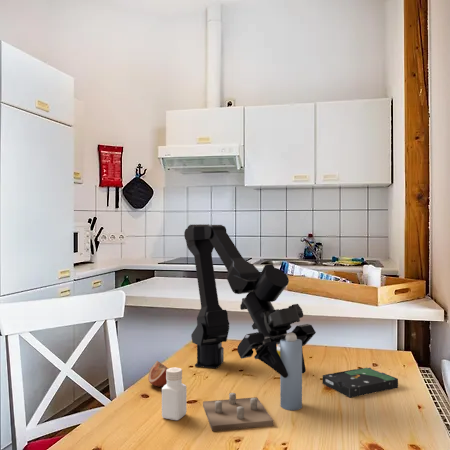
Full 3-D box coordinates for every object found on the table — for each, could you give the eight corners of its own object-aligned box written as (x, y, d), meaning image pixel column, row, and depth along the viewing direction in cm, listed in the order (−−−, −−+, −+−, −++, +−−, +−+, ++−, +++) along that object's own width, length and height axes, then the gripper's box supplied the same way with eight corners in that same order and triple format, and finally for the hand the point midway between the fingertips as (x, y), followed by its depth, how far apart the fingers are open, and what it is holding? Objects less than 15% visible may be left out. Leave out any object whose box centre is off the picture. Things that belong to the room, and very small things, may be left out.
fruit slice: (145, 381, 114) (145, 361, 114) (171, 377, 116) (171, 358, 116) (152, 392, 106) (152, 371, 106) (180, 388, 108) (180, 367, 108)
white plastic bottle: (187, 414, 94) (187, 368, 94) (177, 422, 90) (177, 374, 90) (170, 411, 96) (170, 365, 96) (160, 418, 92) (160, 371, 92)
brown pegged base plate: (202, 406, 98) (202, 392, 98) (257, 401, 100) (257, 388, 100) (212, 431, 86) (212, 415, 86) (273, 425, 89) (273, 410, 89)
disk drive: (350, 401, 102) (399, 389, 109) (350, 388, 102) (399, 377, 109) (321, 386, 112) (368, 376, 118) (321, 374, 112) (367, 365, 118)
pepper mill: (278, 408, 97) (278, 334, 96) (282, 400, 101) (282, 329, 101) (300, 411, 95) (300, 335, 95) (303, 403, 100) (303, 330, 100)
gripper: (244, 296, 96) (278, 362, 87) (310, 289, 106) (346, 347, 97) (224, 326, 103) (254, 390, 94) (287, 317, 113) (319, 374, 104)
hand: (295, 374), depth 97 cm, fingers closed on pepper mill, 5 cm apart
